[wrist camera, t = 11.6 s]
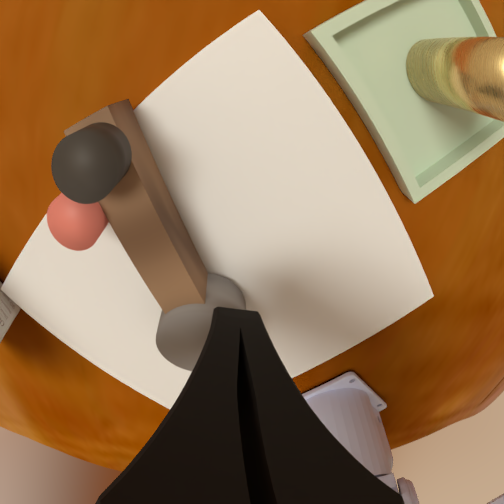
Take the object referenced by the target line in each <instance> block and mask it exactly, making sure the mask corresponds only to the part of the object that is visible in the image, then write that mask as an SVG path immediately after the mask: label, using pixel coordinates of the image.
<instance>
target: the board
mask: <svg viewBox="0 0 504 504" xmlns="http://www.w3.org/2000/svg"><path fill="white" fill-rule="evenodd" d="M133 111H134V114H135V116H136V118H137V121H138V123H139V126H140V128H141V130H142V133H143V135H144V137H145V139H146V142H147V144H148V146H149V149H150V151H151V153H152V155H153V158H154V160H155V162H156V164H157V167H158V169H159V171H160V173H161V176H162V178H163V180H164V182H165V184H166V187H167V189H168V191H169V193H170V195H171V197H172V200H173V202H174V204H175V206H176V208H177V210H178V212H179V215H180V217H181V219H182V221H183V223H184V225H185V227H186V229H187V231H188V233H189V236H190V238H191V240H192V242H193V244H194V246H195V248H196V250H197V252H198V254H199V256H200V258H201V260H202V262H203V264H204V266H205V268H206V270H207V272H208V273H212V274H216V275H220V276H222V277H225V278H227V279H229V280H230V281H232V282H233V283H234V284H236V285H237V286H238V287H239V289H240V290H241V291H242V293H243V295H244V298H245V302H246V310H250V311H258V313H259V314H260V315H261V318H262V321H263V323H264V325H265V328H266V330H267V332H268V334H269V337H270V339H271V341H272V343H273V345H274V347H275V349H276V351H277V353H278V355H279V357H280V359H281V361H282V362H283V364H284V366H285V368H286V370H287V371H288V373H289V375H290V377H291V378H293V377H295V376H297V375H299V374H302V373H304V372H306V371H308V370H310V369H312V368H314V367H316V366H318V365H319V364H321V363H323V362H325V361H327V360H329V359H331V358H333V357H335V356H337V355H338V354H340V353H342V352H344V351H346V350H348V349H349V348H351V347H353V346H355V345H357V344H358V343H360V342H362V341H364V340H365V339H367V338H369V337H371V336H372V335H374V334H376V333H377V332H379V331H381V330H382V329H384V328H386V327H387V326H389V325H390V324H392V323H394V322H395V321H397V320H399V319H400V318H402V317H403V316H405V315H406V314H408V313H409V312H411V311H413V310H414V309H416V308H417V307H419V306H420V305H422V304H423V303H425V302H426V301H428V300H429V299H430V298H432V297H433V296H434V295H433V293H432V290H431V287H430V285H429V282H428V280H427V277H426V275H425V273H424V270H423V268H422V265H421V263H420V261H419V258H418V256H417V254H416V252H415V249H414V247H413V245H412V243H411V241H410V238H409V236H408V234H407V232H406V230H405V228H404V226H403V224H402V222H401V219H400V217H399V215H398V213H397V211H396V209H395V207H394V205H393V204H392V202H391V200H390V198H389V196H388V194H387V192H386V190H385V188H384V186H383V185H382V183H381V181H380V179H379V177H378V176H377V174H376V172H375V170H374V168H373V167H372V165H371V163H370V161H369V160H368V158H367V156H366V155H365V153H364V151H363V150H362V148H361V146H360V145H359V143H358V141H357V140H356V138H355V136H354V135H353V133H352V132H351V130H350V129H349V127H348V125H347V124H346V122H345V121H344V119H343V118H342V116H341V115H340V113H339V112H338V110H337V109H336V107H335V106H334V104H333V103H332V101H331V100H330V98H329V97H328V96H327V94H326V93H325V91H324V90H323V88H322V87H321V86H320V84H319V83H318V81H317V80H316V79H315V77H314V76H313V75H312V73H311V72H310V71H309V69H308V68H307V67H306V65H305V64H304V63H303V61H302V60H301V59H300V58H299V56H298V55H297V54H296V53H295V51H294V50H293V49H292V48H291V46H290V45H289V44H288V43H287V41H286V40H285V39H284V38H283V37H282V35H281V34H280V33H279V32H278V31H277V29H276V28H275V27H274V26H273V25H272V24H271V22H270V21H269V20H268V19H267V18H266V17H265V16H264V15H263V13H262V12H261V11H260V10H258V11H256V12H255V13H253V14H252V15H250V16H249V17H247V18H246V19H244V20H243V21H241V22H240V23H238V24H237V25H235V26H234V27H232V28H231V29H230V30H228V31H227V32H225V33H224V34H223V35H221V36H220V37H218V38H217V39H216V40H214V41H213V42H212V43H210V44H209V45H208V46H206V47H205V48H204V49H203V50H201V51H200V52H199V53H197V54H196V55H195V56H194V57H192V58H191V59H190V60H189V61H188V62H186V63H185V64H184V65H183V66H182V67H180V68H179V69H178V70H177V71H176V72H174V73H173V74H172V75H171V76H170V77H169V78H168V79H166V80H165V81H164V82H163V83H162V84H161V85H160V86H159V87H158V88H156V89H155V90H154V91H153V92H152V93H151V94H150V95H149V96H148V97H147V98H146V99H145V100H144V101H143V102H142V103H141V104H140V105H138V106H137V107H136V108H135V109H134V110H133ZM1 290H2V291H3V292H4V293H5V294H6V295H7V296H8V297H9V298H10V299H11V300H13V301H14V302H15V303H16V304H17V305H18V306H19V307H20V308H22V309H23V310H24V311H25V312H26V313H27V314H29V315H30V316H31V317H32V318H33V319H34V320H36V321H37V322H38V323H39V324H41V325H42V326H43V327H44V328H46V329H47V330H48V331H49V332H51V333H52V334H53V335H54V336H56V337H57V338H58V339H60V340H61V341H62V342H64V343H65V344H66V345H68V346H69V347H70V348H72V349H73V350H75V351H76V352H77V353H79V354H80V355H82V356H83V357H84V358H86V359H87V360H89V361H90V362H92V363H93V364H95V365H96V366H98V367H99V368H101V369H102V370H104V371H105V372H107V373H108V374H110V375H112V376H113V377H115V378H116V379H118V380H119V381H121V382H123V383H124V384H126V385H128V386H129V387H131V388H133V389H134V390H136V391H138V392H140V393H141V394H143V395H145V396H147V397H148V398H150V399H152V400H154V401H155V402H157V403H159V404H161V405H163V406H165V407H167V408H169V409H171V408H172V406H173V404H174V403H175V401H176V400H177V398H178V396H179V395H180V393H181V391H182V389H183V388H184V386H185V384H186V382H187V380H188V378H189V376H190V374H191V372H192V371H188V370H185V369H182V368H180V367H177V366H175V365H174V364H172V363H170V362H169V361H168V360H166V359H165V358H164V357H163V356H162V355H161V353H160V352H159V350H158V348H157V345H156V333H157V329H158V324H159V320H160V315H161V311H162V309H161V307H160V305H159V304H158V302H157V301H156V299H155V298H154V296H153V295H152V293H151V292H150V290H149V289H148V287H147V285H146V284H145V282H144V281H143V279H142V277H141V276H140V274H139V273H138V271H137V269H136V268H135V266H134V264H133V263H132V261H131V259H130V258H129V256H128V254H127V253H126V251H125V249H124V248H123V246H122V244H121V242H120V241H119V239H118V237H117V235H116V234H115V232H114V230H113V228H112V227H111V225H110V223H108V225H107V226H106V228H105V229H104V230H103V232H102V233H101V235H100V236H99V238H98V239H97V241H96V242H95V244H94V245H93V246H92V247H90V248H89V249H86V250H82V251H75V250H71V249H68V248H66V247H64V246H63V245H61V244H60V243H59V242H58V241H57V240H56V239H55V238H54V237H53V235H52V234H51V232H50V230H49V227H48V223H47V214H46V215H45V217H44V218H43V219H42V221H41V222H40V224H39V225H38V227H37V228H36V230H35V231H34V233H33V234H32V236H31V238H30V239H29V241H28V242H27V244H26V245H25V247H24V249H23V250H22V252H21V254H20V255H19V257H18V259H17V260H16V262H15V264H14V265H13V267H12V269H11V271H10V272H9V274H8V276H7V278H6V280H5V281H4V283H3V285H2V287H1Z"/></svg>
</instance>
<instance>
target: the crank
mask: <svg viewBox="0 0 504 504" xmlns="http://www.w3.org/2000/svg"><path fill="white" fill-rule="evenodd" d="M64 133H65V135H66V137H65V138H63V139H62V140H61V141H60V143H59V144H58V145H57V147H56V149H55V151H54V153H53V157H52V166H51V167H52V174H53V178H54V181H55V183H56V185H57V187H58V188H59V190H60V191H61V192H62V193H63V194H64V195H65V196H66V197H67V198H69V199H70V200H72V201H74V202H77V203H81V204H92V203H96V202H98V203H99V204H100V206H101V208H102V210H103V212H104V214H105V216H106V218H107V219H108V221H109V223H110V225H111V227H112V228H113V230H114V232H115V234H116V235H117V237H118V239H119V241H120V242H121V244H122V246H123V248H124V249H125V251H126V253H127V254H128V256H129V258H130V259H131V261H132V263H133V264H134V266H135V268H136V269H137V271H138V273H139V274H140V276H141V277H142V279H143V281H144V282H145V284H146V285H147V287H148V289H149V290H150V292H151V293H152V295H153V296H154V298H155V299H156V301H157V302H158V304H159V305H160V307H161V309H162V311H161V315H160V320H159V324H158V329H157V333H156V345H157V348H158V350H159V352H160V353H161V355H162V356H163V357H164V358H165V359H166V360H168V361H169V362H170V363H172V364H174V365H175V366H177V367H180V368H182V369H185V370H188V371H192V370H193V369H194V367H195V365H196V363H197V360H198V358H199V356H200V354H201V351H202V349H203V346H204V344H205V342H206V339H207V336H208V333H209V330H210V327H211V321H212V315H213V310H214V308H216V307H226V308H234V309H242V310H246V302H245V298H244V295H243V293H242V291H241V290H240V289H239V287H238V286H237V285H236V284H234V283H233V282H232V281H230V280H229V279H227V278H225V277H222V276H220V275H216V274H212V273H208V272H207V270H206V268H205V266H204V264H203V262H202V260H201V258H200V256H199V254H198V252H197V250H196V248H195V246H194V244H193V242H192V240H191V238H190V236H189V233H188V231H187V229H186V227H185V225H184V223H183V221H182V219H181V217H180V215H179V212H178V210H177V208H176V206H175V204H174V202H173V200H172V197H171V195H170V193H169V191H168V189H167V187H166V184H165V182H164V180H163V178H162V176H161V173H160V171H159V169H158V167H157V164H156V162H155V160H154V158H153V155H152V153H151V151H150V149H149V146H148V144H147V142H146V139H145V137H144V135H143V133H142V130H141V128H140V126H139V123H138V121H137V118H136V116H135V114H134V111H133V109H132V106H131V104H130V102H129V99H127V100H123V101H120V102H117V103H114V104H111V105H108V106H106V107H104V108H103V109H101V110H99V111H97V112H95V113H93V114H92V115H90V116H88V117H86V118H85V119H83V120H81V121H80V122H78V123H76V124H75V125H73V126H71V127H70V128H68V129H66V130H65V131H64Z"/></svg>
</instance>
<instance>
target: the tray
mask: <svg viewBox="0 0 504 504" xmlns="http://www.w3.org/2000/svg"><path fill="white" fill-rule="evenodd" d="M303 36H304V38H305V39H306V40H307V42H308V43H309V44H310V45H311V47H312V48H313V49H314V51H315V52H316V53H317V55H318V56H319V57H320V59H321V60H322V61H323V63H324V64H325V65H326V67H327V68H328V70H329V71H330V72H331V74H332V75H333V77H334V78H335V79H336V81H337V82H338V84H339V85H340V87H341V88H342V90H343V91H344V93H345V94H346V96H347V97H348V99H349V100H350V102H351V103H352V105H353V107H354V108H355V110H356V111H357V113H358V114H359V116H360V118H361V119H362V121H363V123H364V124H365V126H366V128H367V129H368V131H369V133H370V134H371V136H372V138H373V139H374V141H375V143H376V145H377V146H378V148H379V150H380V152H381V154H382V155H383V157H384V159H385V161H386V163H387V165H388V167H389V168H390V170H391V172H392V174H393V176H394V178H395V180H396V182H397V184H398V186H399V188H400V190H401V192H402V193H403V194H404V195H405V196H407V197H408V198H409V199H410V200H411V201H412V202H413V203H414V204H415V203H417V202H418V201H420V200H421V199H422V198H424V197H425V196H427V195H428V194H429V193H431V192H432V191H434V190H435V189H436V188H438V187H439V186H440V185H442V184H443V183H445V182H446V181H447V180H449V179H450V178H451V177H453V176H454V175H455V174H457V173H458V172H459V171H461V170H462V169H463V168H465V167H466V166H467V165H469V164H470V163H471V162H473V161H474V160H475V159H477V158H478V157H479V156H480V155H482V154H483V153H484V152H486V151H487V150H488V149H490V148H491V147H492V146H493V145H495V144H496V143H497V142H498V141H500V140H501V139H502V138H503V137H504V122H503V121H500V120H497V119H493V118H490V117H487V116H484V115H480V114H477V113H474V112H470V111H466V110H463V109H459V108H455V107H451V106H447V105H443V104H438V103H434V102H430V101H427V100H425V99H424V98H422V97H421V96H420V95H419V94H418V93H417V92H416V91H415V90H414V88H413V87H412V85H411V83H410V81H409V78H408V75H407V70H406V59H407V55H408V52H409V50H410V48H411V47H412V46H413V45H414V44H415V43H416V42H418V41H420V40H424V39H435V38H451V37H496V34H495V32H494V30H493V28H492V26H491V24H490V21H489V19H488V17H487V15H486V13H485V11H484V9H483V8H482V6H481V4H480V2H479V0H365V1H363V2H361V3H359V4H357V5H355V6H353V7H351V8H349V9H347V10H345V11H344V12H342V13H340V14H338V15H336V16H334V17H333V18H331V19H329V20H327V21H325V22H324V23H322V24H320V25H318V26H317V27H315V28H313V29H312V30H310V31H308V32H307V33H305V34H303Z"/></svg>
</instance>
